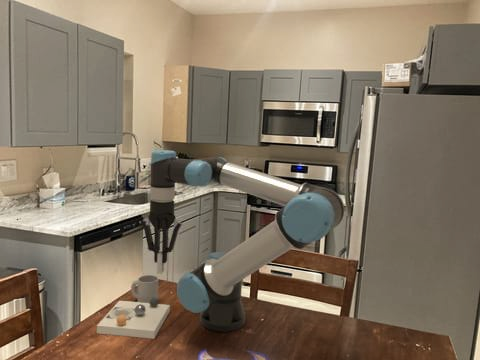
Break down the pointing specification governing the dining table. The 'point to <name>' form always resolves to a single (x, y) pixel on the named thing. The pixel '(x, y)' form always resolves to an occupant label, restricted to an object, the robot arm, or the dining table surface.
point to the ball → (140, 310)
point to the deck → (134, 320)
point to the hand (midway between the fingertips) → (160, 272)
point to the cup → (145, 288)
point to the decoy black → (153, 302)
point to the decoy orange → (121, 319)
